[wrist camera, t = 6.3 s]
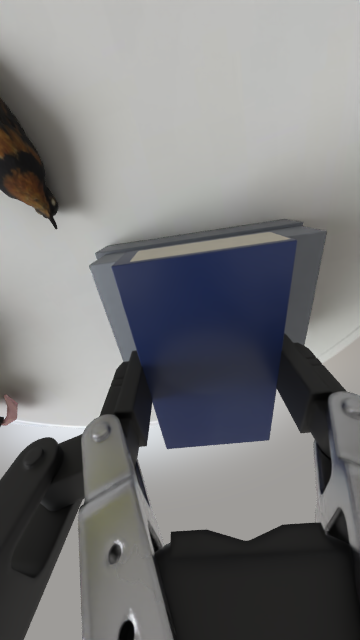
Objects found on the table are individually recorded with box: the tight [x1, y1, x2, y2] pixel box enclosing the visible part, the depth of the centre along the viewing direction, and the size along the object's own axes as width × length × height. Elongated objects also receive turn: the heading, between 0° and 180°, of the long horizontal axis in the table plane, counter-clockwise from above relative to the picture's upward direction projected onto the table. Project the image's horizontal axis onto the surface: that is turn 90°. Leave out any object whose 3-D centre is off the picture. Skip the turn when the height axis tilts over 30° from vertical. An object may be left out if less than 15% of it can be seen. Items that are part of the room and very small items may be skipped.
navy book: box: [111, 231, 297, 449], centre depth 10 cm, size 6×11×2 cm, turn 8°
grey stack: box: [89, 219, 327, 362], centre depth 15 cm, size 13×10×5 cm
